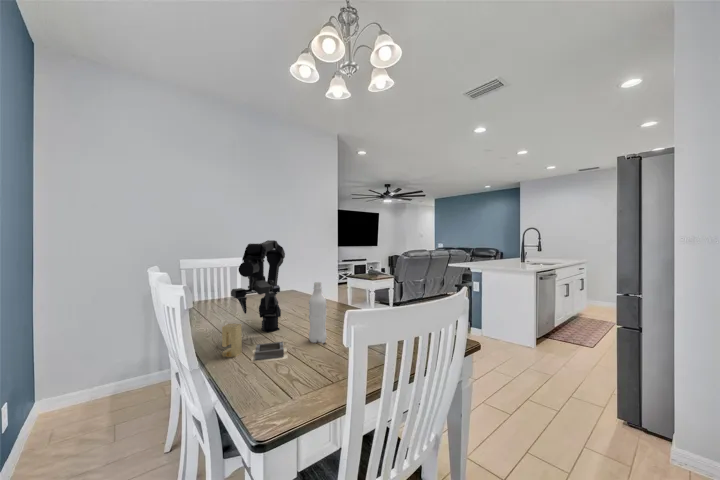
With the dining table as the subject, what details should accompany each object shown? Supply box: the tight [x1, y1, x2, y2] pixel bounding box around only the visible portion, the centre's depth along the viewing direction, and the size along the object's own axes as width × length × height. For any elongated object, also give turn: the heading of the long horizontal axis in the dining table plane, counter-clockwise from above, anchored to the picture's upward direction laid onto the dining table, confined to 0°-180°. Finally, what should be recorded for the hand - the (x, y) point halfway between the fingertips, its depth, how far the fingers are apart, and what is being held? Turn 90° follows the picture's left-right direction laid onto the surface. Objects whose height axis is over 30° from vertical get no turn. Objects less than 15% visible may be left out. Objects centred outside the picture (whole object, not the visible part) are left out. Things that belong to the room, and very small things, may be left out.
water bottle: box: [308, 281, 328, 344], centre depth 117 cm, size 7×7×25 cm
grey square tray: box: [250, 341, 289, 364], centre depth 103 cm, size 12×12×4 cm
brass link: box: [221, 323, 243, 358], centre depth 102 cm, size 4×5×12 cm
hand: (256, 311), depth 118 cm, fingers open, 9 cm apart
